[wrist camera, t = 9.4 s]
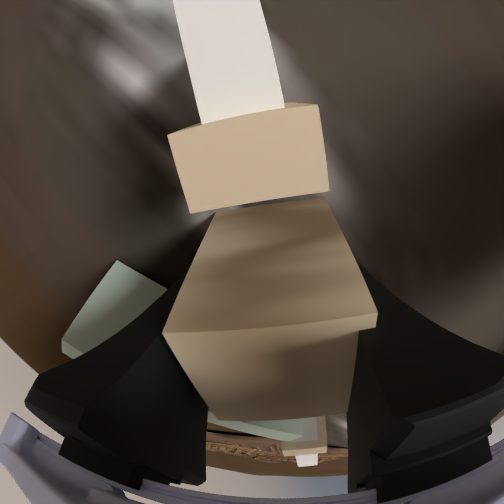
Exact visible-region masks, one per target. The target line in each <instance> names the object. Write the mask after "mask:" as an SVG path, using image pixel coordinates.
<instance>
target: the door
mask: <svg viewBox="0 0 504 504" xmlns="http://www.w3.org/2000/svg"><path fill="white" fill-rule="evenodd" d="M166 290H168V289H167V288H165V287H163V286H161V285H159V284H158V283H156V282H154V281H152V280H150V279H149V278H147V277H145V276H143V275H142V274H140V273H138V272H136V271H135V270H133V269H131V268H129V267H128V266H126V265H124V264H123V263H121V262H119V261H118V260H117V261H116V262H115V263H114V264H113V266H112V267H111V268H110V270H109V271H108V272H107V274H106V275H105V276H104V278H103V279H102V280H101V282H100V283H99V285H98V286H97V287H96V289H95V290H94V291H93V293H92V294H91V296H90V297H89V299H88V300H87V301H86V303H85V304H84V306H83V307H82V309H81V310H80V312H79V313H78V315H77V316H76V318H75V319H74V321H73V322H72V324H71V325H70V327H69V328H68V330H67V332H66V333H65V335H64V336H63V338H62V352H63V353H64V354H66V355H67V356H69V357H70V358H72V359H75V358H77V357H79V356H80V355H82V354H84V353H86V352H88V351H89V350H91V349H93V348H94V347H96V346H98V345H99V344H101V343H102V342H104V341H105V340H107V339H108V338H110V337H111V336H113V335H114V334H116V333H117V332H119V331H120V330H121V329H123V328H124V327H125V326H127V325H128V324H129V323H130V322H132V321H133V320H134V319H135V318H137V317H138V316H139V315H140V314H141V313H143V312H144V311H145V310H146V309H147V308H148V307H149V306H150V305H151V304H152V303H154V302H155V301H156V300H157V299H158V298H159V297H160V296H161V295H162V294H163V293H164V292H165V291H166ZM207 421H208V422H211V423H214V424H217V425H220V426H224V427H227V428H231V429H234V430H238V431H242V432H246V433H250V434H254V435H258V436H263V437H267V438H272V439H277V440H282V441H287V442H289V441H291V440H294V439H297V438H299V437H302V436H303V418H300V419H288V420H270V421H218V420H217V418H216V417H215V415H214V414H213V413H212V411H211V410H210V408H209V407H208V419H207Z"/></svg>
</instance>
